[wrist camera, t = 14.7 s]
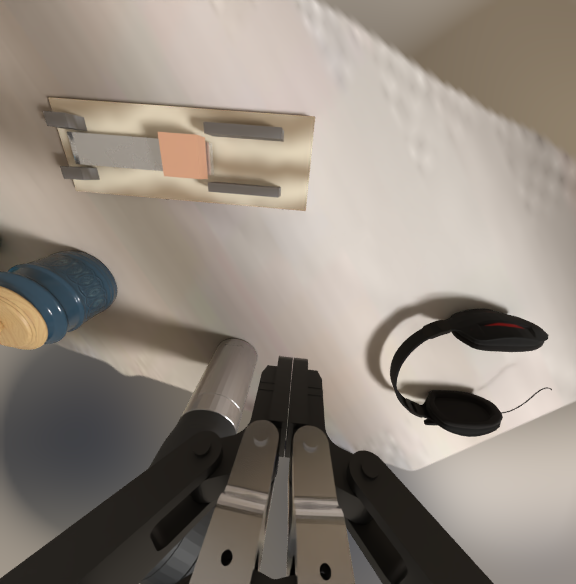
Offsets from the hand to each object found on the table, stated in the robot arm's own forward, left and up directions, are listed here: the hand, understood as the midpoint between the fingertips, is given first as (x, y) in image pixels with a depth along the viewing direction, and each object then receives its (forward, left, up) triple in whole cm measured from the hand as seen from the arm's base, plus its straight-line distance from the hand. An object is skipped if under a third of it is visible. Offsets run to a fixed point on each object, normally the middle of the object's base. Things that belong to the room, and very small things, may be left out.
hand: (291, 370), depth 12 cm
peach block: (+10, +17, -27) cm, 34 cm away
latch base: (+10, +18, -31) cm, 37 cm away
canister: (-13, +42, -31) cm, 54 cm away
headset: (-24, -35, -31) cm, 53 cm away
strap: (+10, +24, -29) cm, 39 cm away
